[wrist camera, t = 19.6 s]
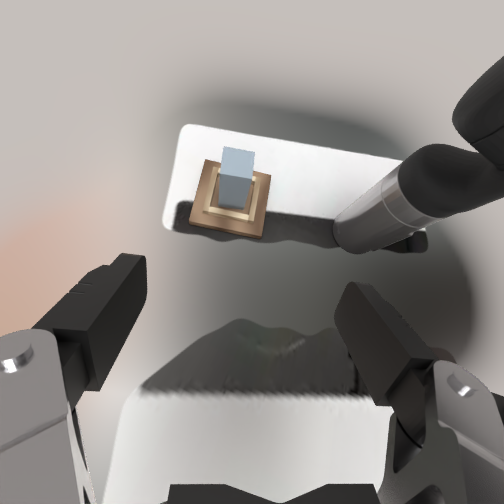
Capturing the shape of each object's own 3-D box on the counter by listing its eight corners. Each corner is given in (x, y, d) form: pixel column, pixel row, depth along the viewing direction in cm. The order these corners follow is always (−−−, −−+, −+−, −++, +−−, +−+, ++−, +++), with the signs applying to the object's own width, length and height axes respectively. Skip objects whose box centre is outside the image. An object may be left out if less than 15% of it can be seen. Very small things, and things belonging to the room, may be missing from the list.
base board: (269, 179, 47) (272, 171, 44) (259, 239, 43) (262, 234, 41) (205, 164, 46) (205, 155, 43) (189, 224, 42) (188, 218, 39)
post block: (245, 188, 44) (254, 152, 34) (243, 210, 43) (252, 179, 33) (221, 184, 43) (223, 146, 34) (218, 206, 42) (219, 173, 32)
